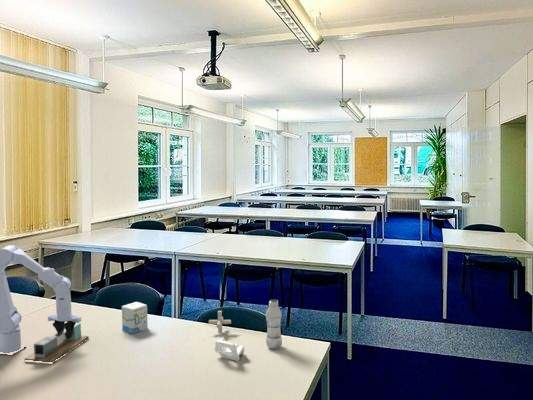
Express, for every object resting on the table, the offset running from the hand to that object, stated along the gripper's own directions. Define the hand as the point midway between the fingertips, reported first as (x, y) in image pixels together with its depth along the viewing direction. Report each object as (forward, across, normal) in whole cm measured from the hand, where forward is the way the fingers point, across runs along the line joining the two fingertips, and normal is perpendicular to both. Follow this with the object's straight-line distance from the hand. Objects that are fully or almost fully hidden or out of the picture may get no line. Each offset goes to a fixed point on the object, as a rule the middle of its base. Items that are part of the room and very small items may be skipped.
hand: (65, 337), depth 179 cm
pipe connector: (+4, -62, -24) cm, 66 cm away
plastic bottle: (+4, -89, -12) cm, 90 cm away
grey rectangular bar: (0, 0, +1) cm, 1 cm away
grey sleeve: (+2, 0, +12) cm, 12 cm away
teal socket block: (+2, 0, -5) cm, 5 cm away
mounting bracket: (+4, -72, -1) cm, 72 cm away
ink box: (+4, -21, -21) cm, 30 cm away
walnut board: (+3, 0, +6) cm, 7 cm away
